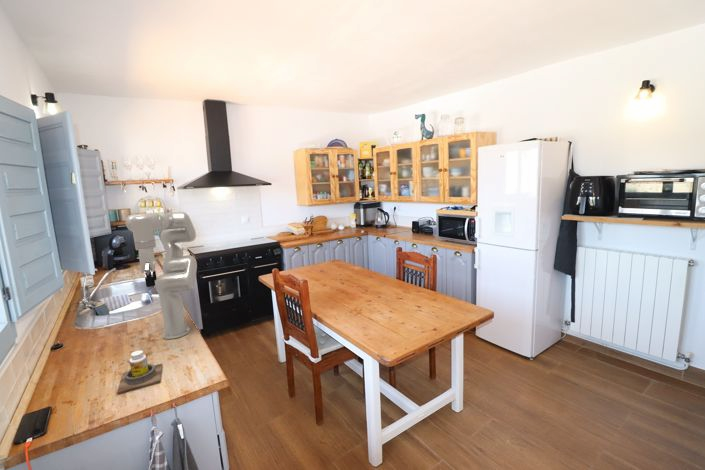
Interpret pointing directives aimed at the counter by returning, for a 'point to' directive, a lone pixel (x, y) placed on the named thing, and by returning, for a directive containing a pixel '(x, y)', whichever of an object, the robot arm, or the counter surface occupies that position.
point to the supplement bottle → (138, 364)
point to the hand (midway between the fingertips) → (151, 283)
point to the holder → (140, 379)
